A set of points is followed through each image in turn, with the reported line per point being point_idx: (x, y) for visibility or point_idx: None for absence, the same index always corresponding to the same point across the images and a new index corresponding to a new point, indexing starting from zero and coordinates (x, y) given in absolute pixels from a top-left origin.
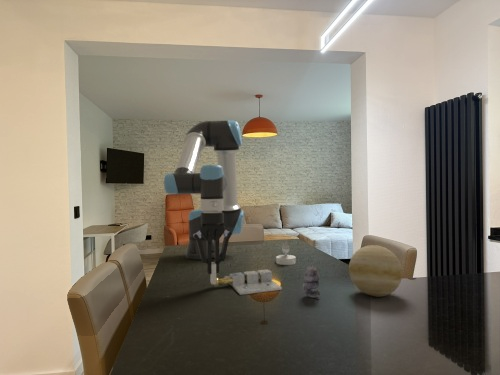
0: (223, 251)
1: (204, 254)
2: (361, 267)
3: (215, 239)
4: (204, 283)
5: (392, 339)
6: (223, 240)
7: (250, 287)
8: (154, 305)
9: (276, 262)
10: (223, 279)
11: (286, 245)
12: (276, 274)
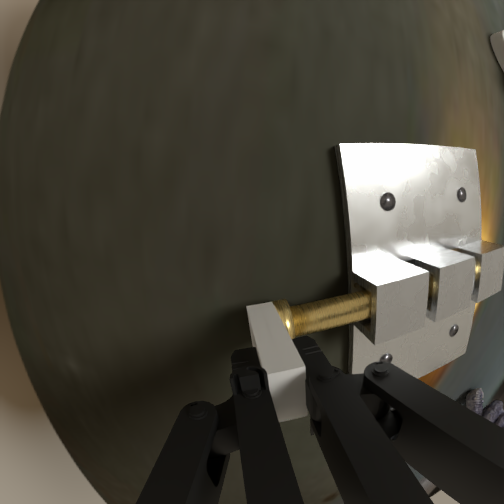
0: (409, 457)
1: (218, 498)
2: None
3: None
4: (212, 216)
5: (427, 485)
6: (498, 475)
7: (401, 357)
8: (70, 422)
9: (494, 48)
10: (323, 329)
11: None
12: (500, 175)
